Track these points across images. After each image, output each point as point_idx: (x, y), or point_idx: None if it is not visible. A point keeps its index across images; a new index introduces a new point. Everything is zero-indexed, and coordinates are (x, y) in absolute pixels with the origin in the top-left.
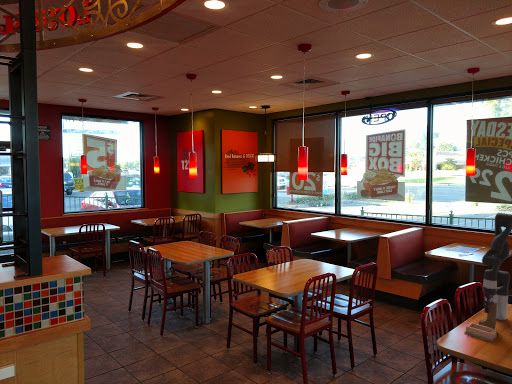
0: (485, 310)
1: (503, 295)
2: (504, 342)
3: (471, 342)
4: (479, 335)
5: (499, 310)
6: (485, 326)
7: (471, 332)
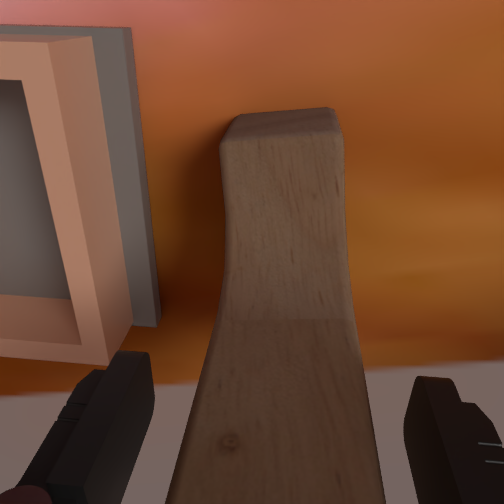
0: (66, 417)
1: None
2: (72, 375)
3: None
4: None
5: None
6: (89, 261)
7: None
